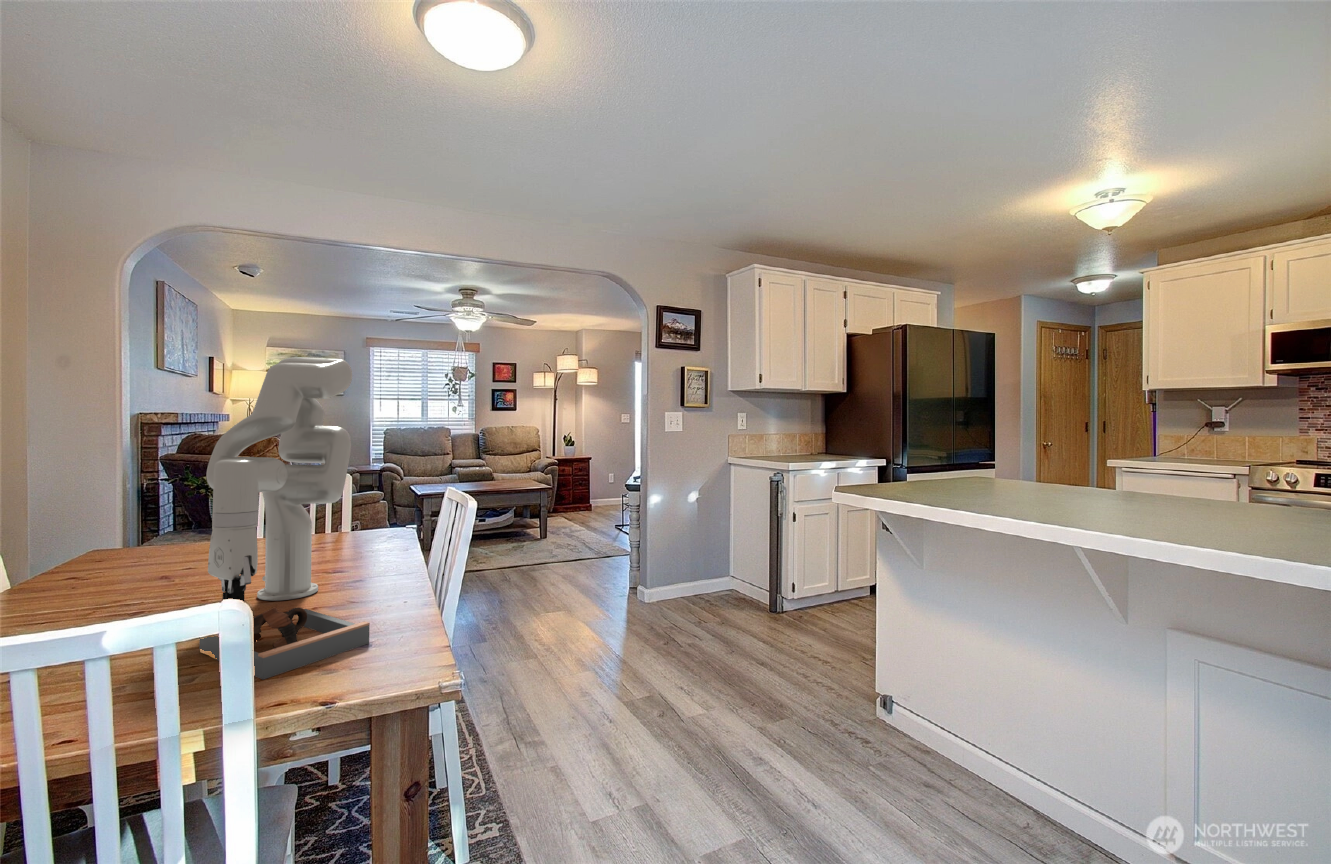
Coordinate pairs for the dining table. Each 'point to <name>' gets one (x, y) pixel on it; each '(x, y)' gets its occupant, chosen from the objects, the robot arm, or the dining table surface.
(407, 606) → the dining table surface
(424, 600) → the dining table surface
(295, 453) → the robot arm
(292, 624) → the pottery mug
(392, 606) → the dining table surface
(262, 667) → the bay
